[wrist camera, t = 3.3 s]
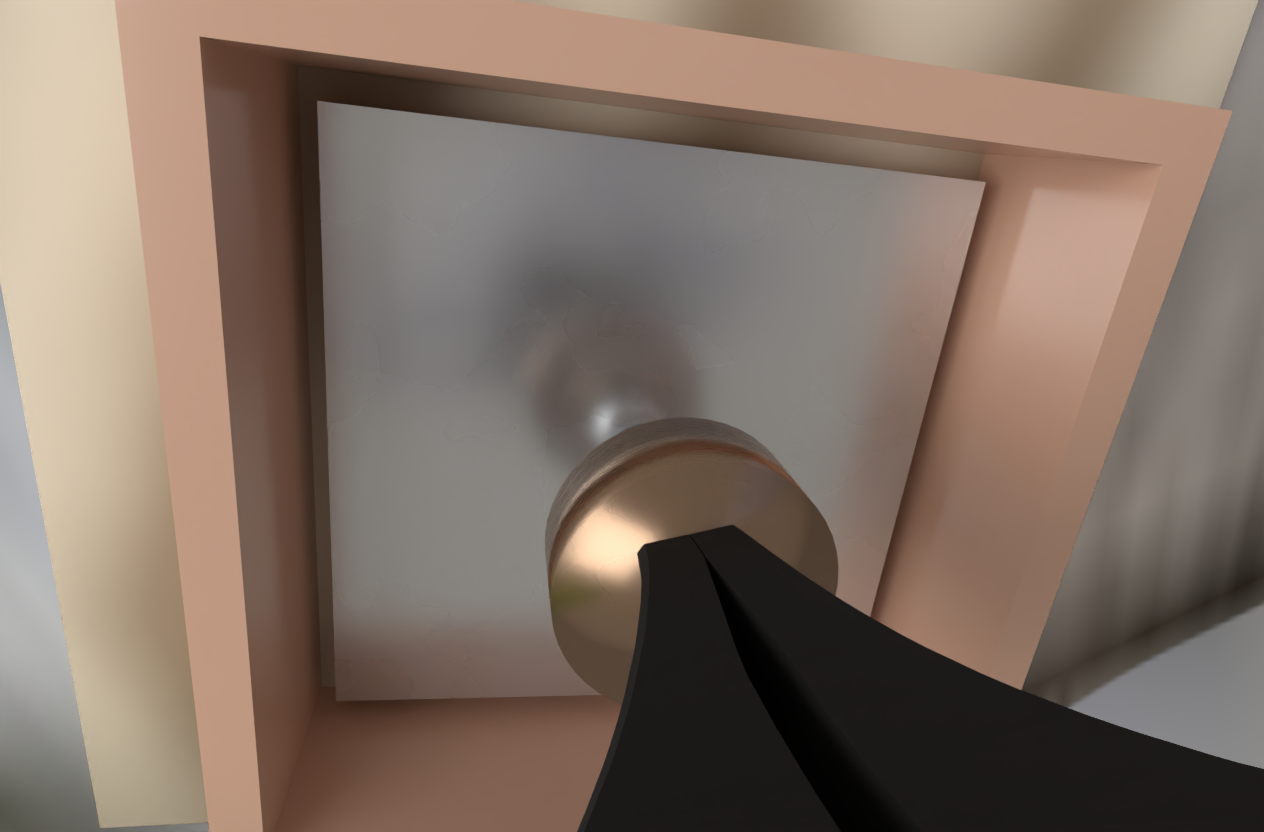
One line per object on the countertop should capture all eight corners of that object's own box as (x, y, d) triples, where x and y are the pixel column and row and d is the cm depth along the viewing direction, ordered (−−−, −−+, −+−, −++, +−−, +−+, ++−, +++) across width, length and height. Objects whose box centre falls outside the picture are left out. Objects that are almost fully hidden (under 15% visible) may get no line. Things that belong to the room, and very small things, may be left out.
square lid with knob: (960, 179, 14) (1207, 208, 9) (836, 666, 18) (962, 870, 13) (328, 102, 12) (205, 86, 7) (343, 674, 16) (271, 923, 11)
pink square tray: (1033, 114, 14) (1233, 110, 10) (869, 701, 19) (963, 848, 15) (239, 1, 11) (108, -61, 8) (284, 716, 16) (217, 899, 12)
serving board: (1230, -23, 15) (1269, -31, 14) (961, 760, 22) (977, 783, 21) (-64, -274, 10) (-107, -304, 10) (117, 798, 17) (99, 828, 17)
